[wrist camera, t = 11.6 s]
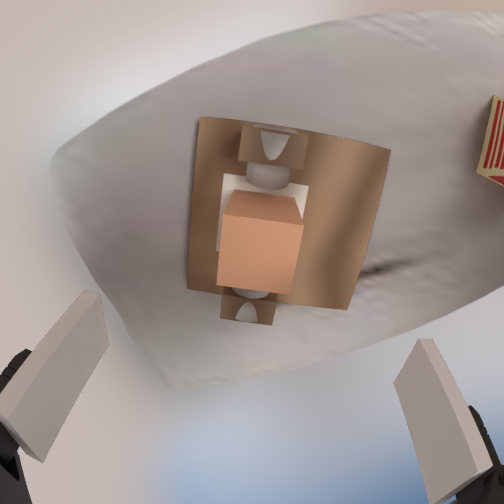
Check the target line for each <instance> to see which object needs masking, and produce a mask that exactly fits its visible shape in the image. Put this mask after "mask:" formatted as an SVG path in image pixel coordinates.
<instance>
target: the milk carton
mask: <svg viewBox="0 0 504 504" xmlns="http://www.w3.org/2000/svg"><path fill="white" fill-rule="evenodd" d="M476 173H477V174H479V175H481V176H483V177H485V178H488V179H490V180H492V181H494V182H496V183H498V184H500V185H502V186H504V99H503V98H500V97H497V96H495V95H494V96H493V101H492V107H491V112H490V116H489V121H488V126H487V130H486V134H485V139H484V143H483V148H482V152H481V156H480V160H479V164H478V168H477V171H476Z"/></svg>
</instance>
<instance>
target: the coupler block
mask: <svg viewBox="0 0 504 504" xmlns="http://www.w3.org/2000/svg"><path fill="white" fill-rule="evenodd" d="M303 229H304V224H303V221H302V218H301V215H300V212H299V209H298V206H297V203H296V200H295V198H294V197H287V196H281V195H274V194H267V193H260V192H252V191H245V190H237V189H234V191H233V193H232V196H231V198H230V200H229V202H228V204H227V206H226V209H225V211H224V213H223V218H222V228H221V238H220V249H219V260H218V272H217V284H216V285H220V286H227V287H234V288H242V289H249V290H257V291H264V292H272V293H280V294H288V295H290V291H291V286H292V281H293V277H294V272H295V268H296V263H297V258H298V253H299V248H300V244H301V239H302V234H303Z"/></svg>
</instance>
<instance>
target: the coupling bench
mask: <svg viewBox="0 0 504 504" xmlns="http://www.w3.org/2000/svg"><path fill="white" fill-rule="evenodd" d="M390 152H391V150H389V149H385V148H382V147H378V146H374V145H370V144H366V143H362V142H358V141H354V140H350V139H345V138H341V137H336V136H332V135H327V134H322V133H317V132H312V131H306V130H301V129H295V128H289V127H283V126H277V125H270V124H263V123H256V122H248V121H240V120H231V119H222V118H211V117H200V123H199V131H198V140H197V150H196V160H195V170H194V181H193V193H192V206H191V220H190V236H189V255H188V277H187V289H191V290H197V291H204V292H210V293H217V294H222V303H221V313H220V318H221V319H228V320H235V321H242V322H249V323H257V324H264V325H272V322H273V318H274V313H275V309H276V304H277V302H281V303H289V304H297V305H306V306H314V307H323V308H332V309H342V310H347V309H348V306H349V303H350V300H351V297H352V294H353V291H354V288H355V285H356V282H357V279H358V276H359V273H360V270H361V266H362V263H363V260H364V256H365V253H366V250H367V246H368V243H369V239H370V236H371V232H372V228H373V225H374V221H375V217H376V213H377V209H378V206H379V201H380V197H381V193H382V189H383V185H384V180H385V176H386V171H387V167H388V162H389V157H390ZM234 189H237V190H245V191H252V192H260V193H267V194H274V195H281V196H287V197H294V198H295V200H296V203H297V206H298V209H299V212H300V215H301V218H302V221H303V224H304V229H303V234H302V239H301V244H300V248H299V253H298V258H297V263H296V268H295V272H294V277H293V281H292V286H291V291H290V295H288V294H280V293H272V292H264V291H257V290H249V289H242V288H234V287H227V286H220V285H216V284H217V272H218V260H219V249H220V238H221V228H222V218H223V213H224V211H225V209H226V206H227V204H228V202H229V200H230V198H231V196H232V193H233V191H234Z"/></svg>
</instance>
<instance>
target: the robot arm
mask: <svg viewBox="0 0 504 504" xmlns="http://www.w3.org/2000/svg"><path fill="white" fill-rule="evenodd" d="M108 345H109V341H108V336H107V331H106V326H105V321H104V315H103V308H102V302H101V296H100V294H98V293H94V292H90V291H84V292H83V293H82V294H81V295H80V296H79V297H78V298H77V300H76V301H75V302H74V303H73V304H72V305H71V306H70V307H69V309H68V310H67V311H66V312H65V313H64V314H63V315H62V317H61V318H60V319H59V320H58V321H57V323H55V325H54V326H53V327H52V328H51V329H50V331H49V332H48V333H47V334H46V335H45V337H44V338H43V339H42V340H41V341H40V343H39V344H38V345H37V346H36V348H35V349H34V350H33V351H30V350H28V349H25V350H24V351H22V352H20V353H19V354H17V355H16V356H15V357H14V358H13V359H12V361H11V362H10V363H9V364H8V367H6V368H5V369H4V371H3V372H2V375H0V504H32V502H31V498H30V495H29V492H28V489H27V485H26V481H25V478H24V474H23V470H22V466H21V462H20V457H19V455H18V452H17V450H18V448H19V446H20V447H21V448H22V449H23V451H24V452H25V453H26V454H27V455H29V456H31V457H33V458H34V459H36V460H38V461H40V462H42V463H43V462H44V460H45V458H46V456H47V454H48V452H49V450H50V448H51V446H52V444H53V443H54V441H55V439H56V437H57V435H58V433H59V431H60V429H61V427H62V425H63V423H64V422H65V420H66V418H67V416H68V414H69V412H70V411H71V409H72V407H73V405H74V403H75V401H76V400H77V398H78V396H79V394H80V393H81V391H82V389H83V387H84V386H85V384H86V382H87V381H88V379H89V377H90V375H91V374H92V372H93V370H94V369H95V367H96V365H97V364H98V362H99V360H100V359H101V357H102V355H103V354H104V352H105V350H106V349H107V347H108ZM394 385H395V388H396V391H397V394H398V397H399V400H400V403H401V406H402V409H403V412H404V415H405V418H406V421H407V425H408V427H409V430H410V434H411V437H412V440H413V444H414V448H415V451H416V455H417V458H418V462H419V465H420V469H421V473H422V477H423V481H424V484H425V488H426V492H427V496H428V501H429V504H438V503H442V502H445V501H447V500H448V499H450V498H451V497H452V496H454V495H456V500H454V501H453V502H451V503H450V504H504V465H501V463H500V461H499V459H498V456H497V454H496V451H495V449H494V447H493V444H492V442H491V439H490V437H489V435H487V430H486V428H485V427H484V426H483V425H484V424H483V421H482V419H481V417H480V415H479V414H478V412H477V411H476V410H475V409H474V408H473V407H472V406H467V404H466V402H465V399H464V397H463V395H462V393H461V392H460V389H459V387H458V385H457V383H456V381H455V380H454V378H453V376H452V374H451V372H450V370H449V368H448V366H447V364H446V363H445V361H444V359H443V357H442V355H441V354H440V352H439V350H438V348H437V346H436V345H435V343H434V341H433V339H422V338H421V339H420V338H419V339H418V340H417V343H416V344H415V346H414V348H413V350H412V352H411V354H410V355H409V357H408V359H407V361H406V362H405V364H404V366H403V368H402V369H401V371H400V373H399V374H398V376H397V378H396V379H395V381H394Z"/></svg>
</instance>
